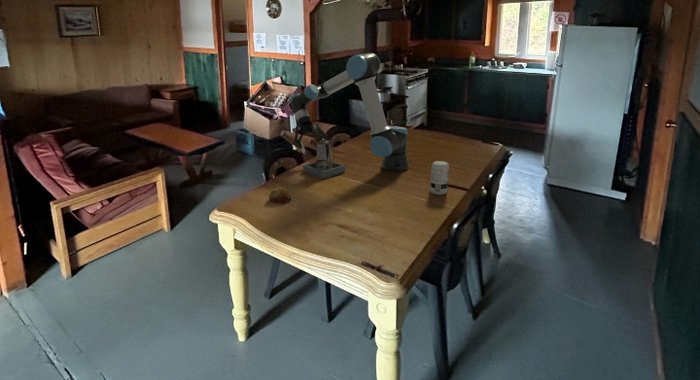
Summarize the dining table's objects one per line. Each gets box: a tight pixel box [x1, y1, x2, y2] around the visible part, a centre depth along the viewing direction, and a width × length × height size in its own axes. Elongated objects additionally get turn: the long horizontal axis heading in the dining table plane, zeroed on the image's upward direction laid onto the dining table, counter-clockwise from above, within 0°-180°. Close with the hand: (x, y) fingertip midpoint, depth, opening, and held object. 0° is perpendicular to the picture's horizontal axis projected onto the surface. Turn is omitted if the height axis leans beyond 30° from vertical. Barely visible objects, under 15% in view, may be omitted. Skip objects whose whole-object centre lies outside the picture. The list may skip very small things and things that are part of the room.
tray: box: [302, 161, 346, 180], centre depth 271 cm, size 16×16×4 cm
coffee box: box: [316, 139, 333, 171], centre depth 268 cm, size 9×6×16 cm
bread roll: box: [268, 187, 293, 205], centre depth 233 cm, size 10×10×8 cm
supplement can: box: [429, 160, 450, 196], centre depth 242 cm, size 8×8×15 cm
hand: (315, 151), depth 277 cm, fingers open, 13 cm apart
